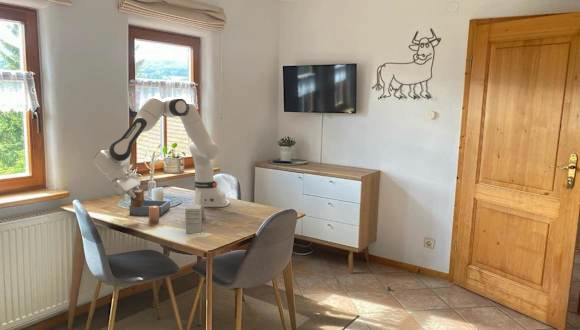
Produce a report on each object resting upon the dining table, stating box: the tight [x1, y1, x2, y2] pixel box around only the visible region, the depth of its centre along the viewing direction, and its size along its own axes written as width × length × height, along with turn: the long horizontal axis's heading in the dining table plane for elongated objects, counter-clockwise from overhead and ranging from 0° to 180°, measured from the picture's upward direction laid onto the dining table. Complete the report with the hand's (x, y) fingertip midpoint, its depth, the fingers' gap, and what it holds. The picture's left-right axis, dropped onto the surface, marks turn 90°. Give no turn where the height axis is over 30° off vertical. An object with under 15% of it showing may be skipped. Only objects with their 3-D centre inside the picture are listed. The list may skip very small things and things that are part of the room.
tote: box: [129, 199, 171, 217], centre depth 251 cm, size 18×14×5 cm
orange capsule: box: [148, 206, 160, 224], centre depth 232 cm, size 5×5×8 cm
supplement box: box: [184, 204, 203, 234], centre depth 218 cm, size 7×7×13 cm
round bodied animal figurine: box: [195, 204, 206, 220], centre depth 237 cm, size 7×12×8 cm, turn 138°
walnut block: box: [130, 189, 145, 207], centre depth 232 cm, size 5×5×8 cm
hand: (138, 195), depth 231 cm, fingers closed on walnut block, 5 cm apart
